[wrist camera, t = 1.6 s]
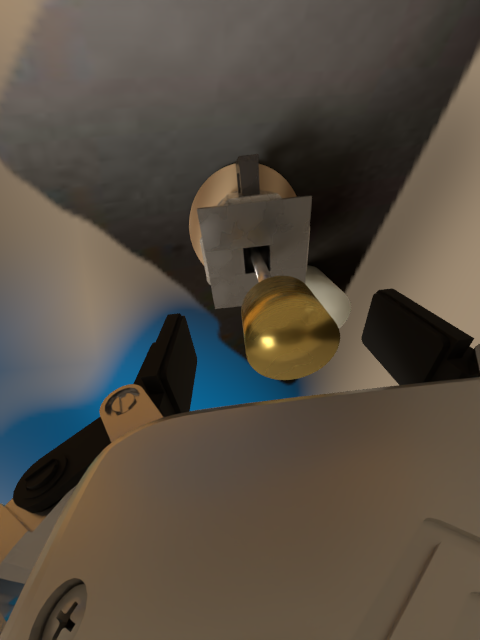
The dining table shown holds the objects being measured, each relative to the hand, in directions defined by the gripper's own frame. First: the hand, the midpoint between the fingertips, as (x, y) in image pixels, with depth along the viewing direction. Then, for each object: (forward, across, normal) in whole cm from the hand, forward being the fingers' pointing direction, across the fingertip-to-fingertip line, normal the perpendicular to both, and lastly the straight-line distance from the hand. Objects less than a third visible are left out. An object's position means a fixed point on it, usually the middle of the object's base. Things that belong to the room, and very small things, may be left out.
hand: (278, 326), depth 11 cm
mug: (+24, -9, +10) cm, 28 cm away
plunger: (+16, 0, 0) cm, 16 cm away
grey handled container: (+23, 0, -2) cm, 23 cm away
